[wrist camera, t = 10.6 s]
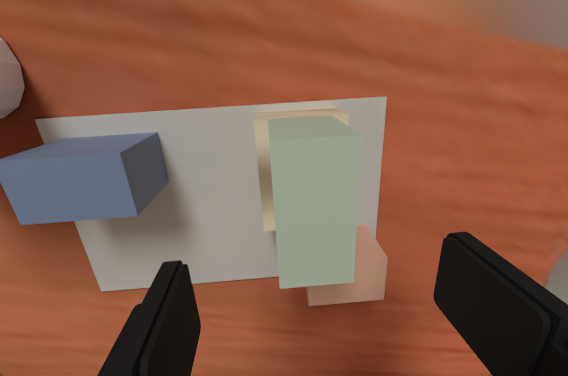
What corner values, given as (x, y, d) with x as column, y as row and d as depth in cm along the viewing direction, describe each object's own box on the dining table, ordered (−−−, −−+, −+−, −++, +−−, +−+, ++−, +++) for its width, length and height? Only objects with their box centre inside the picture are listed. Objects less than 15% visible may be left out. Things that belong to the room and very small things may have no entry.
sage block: (330, 226, 21) (353, 282, 15) (276, 230, 21) (279, 288, 15) (331, 115, 18) (361, 134, 12) (267, 119, 18) (268, 141, 12)
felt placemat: (372, 267, 28) (373, 268, 27) (102, 290, 27) (101, 291, 27) (385, 96, 22) (386, 96, 21) (36, 118, 21) (34, 119, 20)
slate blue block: (157, 132, 21) (119, 153, 16) (168, 181, 23) (138, 216, 17) (63, 138, 21) (-10, 161, 16) (80, 187, 23) (20, 225, 17)
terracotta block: (363, 260, 27) (383, 299, 22) (301, 266, 27) (308, 306, 22) (365, 224, 26) (387, 257, 21) (299, 229, 25) (307, 264, 21)
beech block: (333, 202, 24) (345, 225, 21) (264, 207, 24) (264, 231, 21) (334, 106, 21) (348, 114, 18) (255, 112, 21) (253, 120, 17)
